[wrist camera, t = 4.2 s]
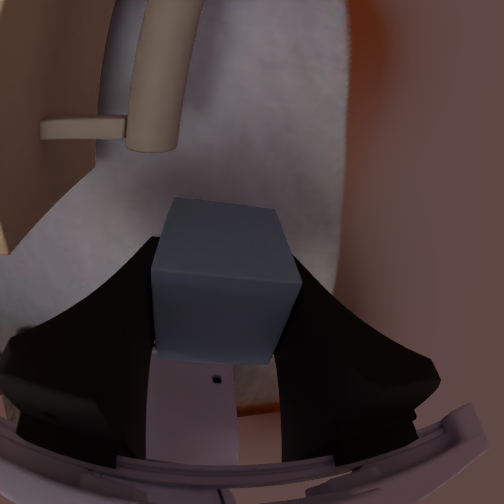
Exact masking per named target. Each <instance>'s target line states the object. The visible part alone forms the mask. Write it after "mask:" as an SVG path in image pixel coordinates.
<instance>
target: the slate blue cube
mask: <svg viewBox="0 0 504 504" xmlns="http://www.w3.org/2000/svg"><path fill="white" fill-rule="evenodd" d="M301 286H302V280H301V277H300V274H299V272H298V269H297V266H296V263H295V261H294V258H293V255H292V253H291V250H290V247H289V245H288V242H287V240H286V237H285V234H284V232H283V229H282V226H281V224H280V221H279V219H278V216H277V214H276V211H275V209H271V208H264V207H256V206H249V205H242V204H234V203H226V202H218V201H210V200H201V199H192V198H183V197H174V198H173V201H172V204H171V207H170V210H169V212H168V215H167V218H166V221H165V224H164V227H163V230H162V234H161V237H160V240H159V243H158V246H157V250H156V253H155V256H154V260H153V263H152V266H151V290H152V309H153V323H154V336H155V346H156V356H157V358H163V359H172V360H183V361H194V362H208V363H226V364H259V365H267V364H269V362H270V359H271V357H272V355H273V353H274V350H275V348H276V346H277V344H278V341H279V339H280V337H281V334H282V332H283V330H284V327H285V325H286V323H287V320H288V318H289V315H290V313H291V311H292V308H293V306H294V303H295V301H296V298H297V296H298V293H299V291H300V288H301Z"/></svg>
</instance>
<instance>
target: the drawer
mask: <svg viewBox="0 0 504 504" xmlns="http://www.w3.org/2000/svg"><path fill="white" fill-rule="evenodd" d="M115 1H116V0H0V254H4V255H9V254H11V252H12V251H13V250H14V249H15V247H16V246H17V245H18V244H19V243H20V241H21V240H22V239H23V238H24V237H25V236H26V234H27V233H28V232H29V231H30V230H31V229H32V228H33V227H34V225H35V224H36V223H37V222H38V221H39V220H40V219H41V218H42V217H43V216H44V215H45V214H46V213H47V212H48V211H49V210H50V208H51V207H52V206H53V205H54V204H55V203H56V202H57V201H58V200H59V199H61V198H62V197H63V196H64V195H65V194H66V193H67V192H68V191H69V190H70V189H71V188H72V187H73V186H74V185H75V184H76V183H78V182H79V181H80V180H81V179H82V178H83V177H84V176H85V175H86V174H88V173H89V172H90V171H91V170H92V169H93V168H95V147H96V139H111V140H123V139H124V138H126V142H125V145H126V148H128V149H129V150H132V151H136V152H143V153H161V152H167V151H171V150H174V149H175V148H176V147H177V143H178V135H179V127H180V120H181V113H182V107H183V100H184V94H185V88H186V82H187V77H188V71H189V66H190V61H191V56H192V51H193V46H194V42H195V37H196V33H197V28H198V24H199V20H200V16H201V12H202V8H203V4H204V1H205V0H148V2H147V5H146V9H145V13H144V17H143V22H142V26H141V30H140V35H139V40H138V45H137V50H136V56H135V62H134V68H133V74H132V81H131V88H130V97H129V105H128V115H97V106H98V95H99V85H100V77H101V69H102V63H103V56H104V50H105V45H106V39H107V34H108V30H109V25H110V21H111V16H112V12H113V8H114V4H115Z"/></svg>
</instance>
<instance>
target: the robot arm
mask: <svg viewBox="0 0 504 504" xmlns="http://www.w3.org/2000/svg"><path fill="white" fill-rule="evenodd" d="M159 240H160V237H155V236H152V237H151V238H149V239H148V241H147V242H146V243H145V244H144V245H143V246H142V247H141V248H140V249H139V250H138V251H137V252H136V253H135V254H134V256H133V257H132V258H130V259H129V260H128V262H127V263H126V264H125V265H124V266H123V267H121V268H120V269H119V270H118V271H117V272H116V273H115V274H114V275H113V276H112V277H111V278H109V279H108V280H107V281H106V282H105V283H104V284H103V285H101V286H100V287H99V288H98V289H96V290H95V291H94V292H92V293H91V294H90V295H89V296H87V297H86V298H84V299H83V300H81V301H80V302H78V303H77V304H75V305H73V306H72V307H70V308H69V309H67V310H66V311H64V312H62V313H61V314H59V315H57V316H55V317H54V318H52V319H50V320H48V321H46V322H44V323H42V324H40V325H38V326H36V327H34V328H32V329H29V330H27V331H25V332H23V333H20V334H18V335H16V336H13V337H11V338H10V340H9V341H8V343H7V346H6V348H5V350H4V352H3V354H2V357H1V359H0V391H1V392H2V393H3V394H4V395H5V396H6V397H7V398H8V399H9V400H10V402H11V403H12V404H13V405H14V406H15V407H16V408H17V409H18V410H19V411H20V412H21V413H20V417H19V420H18V424H16V423H14V422H12V421H10V420H8V419H5V418H3V417H1V416H0V494H1V495H3V496H4V497H6V498H8V499H9V500H11V501H12V502H14V503H16V504H237V503H236V500H235V497H234V495H233V493H232V492H231V490H230V489H229V488H251V487H263V486H273V485H282V484H290V483H297V482H303V481H309V480H314V479H319V478H324V477H328V476H333V475H338V474H341V473H346V472H350V471H352V472H351V473H349V474H346V475H343V476H340V477H336V478H333V479H330V480H328V481H327V482H325V483H323V484H320V485H318V486H315V487H311V488H308V489H306V491H305V494H306V497H305V498H299V499H293V500H287V501H279V502H271V503H261V504H416V503H417V502H419V501H420V500H422V499H424V498H425V497H427V496H428V495H430V494H431V493H432V492H434V491H435V490H437V489H438V488H439V487H441V486H442V485H444V484H445V483H446V482H448V481H449V480H450V479H451V478H453V477H454V476H456V475H457V474H458V473H459V472H461V471H462V470H463V469H464V468H465V467H467V466H468V465H469V464H470V463H472V462H473V461H474V460H475V459H477V458H478V457H479V456H481V455H482V454H483V453H485V452H486V451H487V450H488V449H489V448H490V445H489V442H488V440H487V437H486V435H485V432H484V430H483V428H482V425H481V423H480V421H479V418H478V416H477V414H476V412H475V410H474V407H473V405H472V403H468V404H466V405H464V406H461V407H459V408H457V409H455V410H454V411H452V412H451V413H450V414H448V415H447V416H445V417H444V418H443V419H442V420H441V421H439V422H437V423H434V424H432V425H430V426H427V427H424V428H422V429H419V430H417V431H416V429H415V427H414V424H413V422H412V421H413V420H415V419H416V417H417V416H416V413H415V411H414V409H415V408H416V407H418V406H419V405H420V404H421V403H423V402H424V401H425V400H426V399H427V398H428V397H429V396H430V395H431V394H433V392H435V391H436V389H437V388H438V386H439V384H440V381H441V379H440V377H439V375H438V372H437V370H436V368H435V366H434V364H433V362H432V361H431V359H429V358H427V357H425V356H423V355H420V354H418V353H416V352H414V351H412V350H409V349H407V348H405V347H404V346H402V345H400V344H398V343H396V342H395V341H393V340H391V339H389V338H388V337H386V336H384V335H383V334H381V333H380V332H378V331H377V330H375V329H374V328H372V327H371V326H369V325H368V324H366V323H365V322H364V321H362V320H361V319H359V318H358V317H357V316H356V315H354V314H353V313H352V312H351V311H349V310H348V309H347V308H346V307H345V306H343V305H342V304H341V303H340V302H339V301H338V300H337V299H336V298H335V297H334V296H332V295H331V294H330V293H329V292H328V291H327V290H326V289H325V288H324V287H323V286H322V285H321V284H320V283H319V282H318V281H317V280H316V279H315V278H314V277H313V275H312V274H311V273H310V272H309V271H308V270H307V269H306V268H305V267H304V266H303V265H302V264H301V263H300V261H299V260H298V259H297V258H296V257H295V256H294V255H293V254H292V255H293V258H294V261H295V263H296V266H297V269H298V272H299V274H300V277H301V280H302V286H301V288H300V291H299V293H298V296H297V298H296V301H295V303H294V306H293V308H292V311H291V313H290V315H289V318H288V320H287V323H286V325H285V327H284V330H283V332H282V334H281V337H280V339H279V341H278V344H277V346H276V348H275V350H274V358H275V363H276V369H277V378H278V387H279V399H280V413H281V433H282V434H281V435H282V463H271V464H259V465H237V463H238V449H239V448H238V447H239V446H238V445H239V442H238V424H237V413H236V401H235V388H234V376H233V364H226V363H208V362H194V361H183V360H172V359H163V358H157V356H156V347H153V345H154V341H155V336H154V323H153V309H152V290H151V266H152V263H153V260H154V256H155V253H156V250H157V246H158V243H159Z"/></svg>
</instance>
